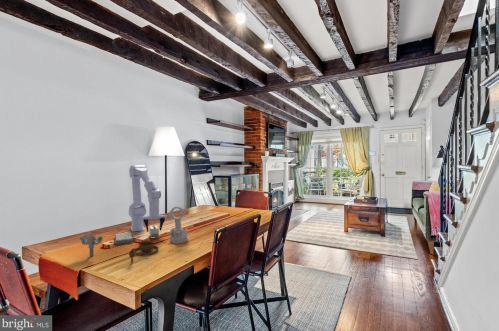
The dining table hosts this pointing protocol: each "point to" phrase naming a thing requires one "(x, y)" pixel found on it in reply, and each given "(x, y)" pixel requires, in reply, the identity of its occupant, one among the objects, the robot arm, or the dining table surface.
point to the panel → (123, 238)
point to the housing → (154, 231)
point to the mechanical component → (90, 242)
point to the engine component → (177, 228)
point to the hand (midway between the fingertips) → (154, 230)
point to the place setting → (143, 249)
